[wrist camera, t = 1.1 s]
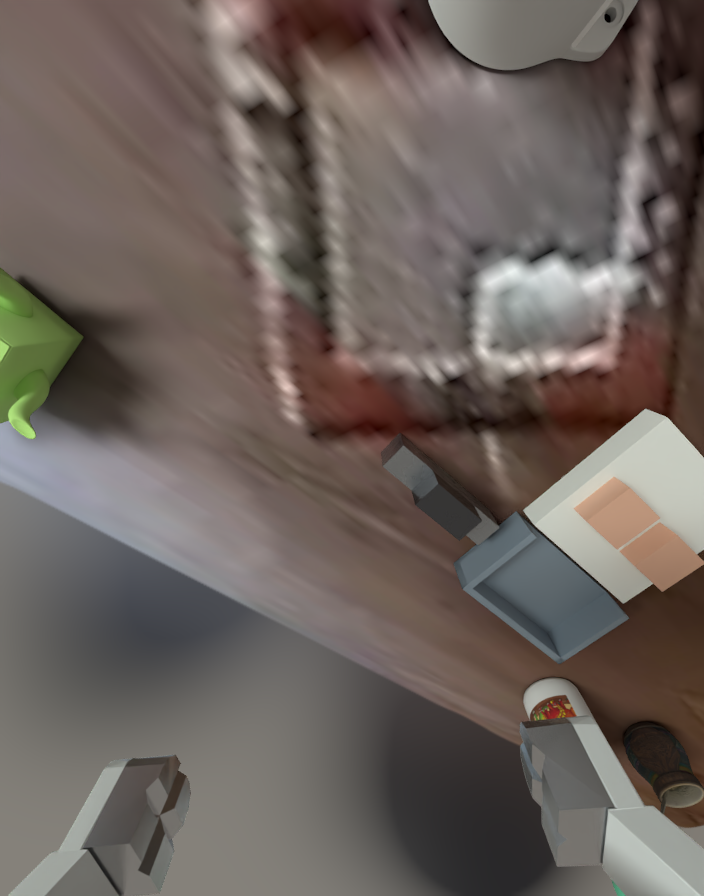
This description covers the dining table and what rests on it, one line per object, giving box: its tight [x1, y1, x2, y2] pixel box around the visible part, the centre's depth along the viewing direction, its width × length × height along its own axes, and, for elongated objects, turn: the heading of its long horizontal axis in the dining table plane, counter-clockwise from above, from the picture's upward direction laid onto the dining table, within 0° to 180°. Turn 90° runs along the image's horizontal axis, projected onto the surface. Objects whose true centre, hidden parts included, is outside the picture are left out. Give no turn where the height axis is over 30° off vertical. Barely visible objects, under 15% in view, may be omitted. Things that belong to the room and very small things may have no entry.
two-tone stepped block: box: [381, 433, 500, 545], centre depth 40 cm, size 3×14×7 cm, turn 49°
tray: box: [454, 512, 629, 664], centre depth 45 cm, size 10×17×4 cm, turn 49°
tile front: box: [574, 477, 660, 549], centre depth 39 cm, size 5×5×2 cm
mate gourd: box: [624, 722, 704, 814], centre depth 52 cm, size 7×8×10 cm
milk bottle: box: [523, 677, 626, 896], centre depth 45 cm, size 8×8×20 cm
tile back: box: [620, 522, 704, 592], centre depth 40 cm, size 5×5×2 cm
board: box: [523, 409, 704, 604], centre depth 42 cm, size 16×16×3 cm
